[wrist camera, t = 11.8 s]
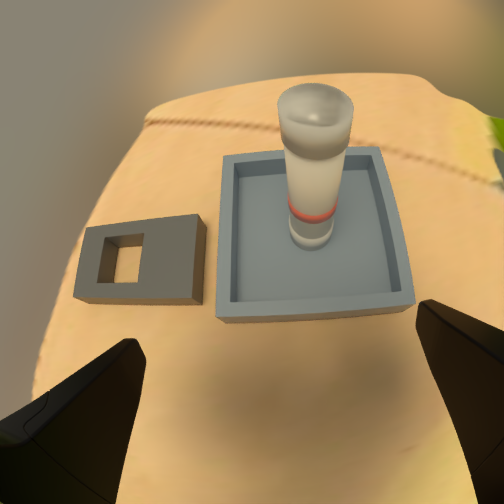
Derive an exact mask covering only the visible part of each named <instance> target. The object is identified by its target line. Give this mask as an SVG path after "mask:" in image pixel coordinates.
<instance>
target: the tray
mask: <svg viewBox="0 0 504 504" xmlns="http://www.w3.org/2000/svg"><path fill="white" fill-rule="evenodd" d="M289 215H290V211H289V206H288V185H287V174H286V162H285V152H284V150H276V151H264V152H254V153H244V154H235V155H227V156H223V168H222V183H221V199H220V217H219V236H218V258H217V285H216V317H217V318H218V319H220V320H221V321H223V322H225V323H263V322H287V321H306V320H322V319H335V318H347V317H359V316H369V315H379V314H388V313H396V312H403V311H404V310H406V309H408V308H409V307H411V306H413V305H414V304H416V300H415V293H414V286H413V280H412V274H411V268H410V263H409V257H408V252H407V247H406V242H405V238H404V233H403V229H402V224H401V220H400V216H399V212H398V208H397V204H396V201H395V197H394V193H393V190H392V186H391V183H390V180H389V176H388V173H387V170H386V167H385V163H384V160H383V157H382V154H381V151H380V148H379V147H347V148H346V152H345V158H344V164H343V170H342V176H341V182H340V187H339V193H338V202H337V207H336V211H335V213H334V225H333V230H332V234H331V238H330V241H329V242H328V244H327V245H326V246H325V247H323V248H322V249H319V250H316V251H306V250H303V249H301V248H299V247H297V246H296V245H295V244H294V243H293V241H292V239H291V237H290V229H289Z"/></svg>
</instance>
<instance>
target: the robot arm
mask: <svg viewBox="0 0 504 504" xmlns="http://www.w3.org/2000/svg"><path fill="white" fill-rule="evenodd" d="M416 330H417V333H418V336H419V339H420V341H421V344H422V347H423V350H424V353H425V356H426V359H427V362H428V365H429V367H430V370H431V372H432V374H433V377H434V379H435V381H436V383H437V386H438V388H439V390H440V393H441V395H442V397H443V400H444V402H445V404H446V407H447V409H448V412H449V414H450V417H451V419H452V422H453V425H454V427H455V430H456V433H457V435H458V438H459V441H460V444H461V447H462V450H463V453H464V456H465V459H466V462H467V465H468V468H469V471H470V474H471V479H472V482H473V486H474V490H475V493H476V497H477V501H478V504H504V331H502V330H500V329H498V328H496V327H493V326H491V325H489V324H487V323H485V322H482V321H480V320H478V319H476V318H473V317H471V316H469V315H467V314H464V313H462V312H460V311H458V310H455V309H453V308H451V307H448V306H446V305H444V304H441V303H439V302H437V301H435V300H432V299H429V300H425V301H421V302H420V303H419V305H418V311H417V318H416ZM145 368H146V357H145V355H144V353H143V351H142V349H141V347H140V345H139V342H138V341H137V340H136V339H135V338H126V339H123V340H122V341H120V342H119V343H117V344H116V345H114V346H113V347H111V348H110V349H109V350H107V351H106V352H104V353H103V354H101V355H100V356H98V357H97V358H95V359H94V360H93V361H91V362H90V363H88V364H87V365H85V366H84V367H82V368H81V369H79V370H78V371H77V372H75V373H74V374H72V375H71V376H69V377H68V378H66V379H65V380H64V381H62V382H61V383H59V384H58V385H56V386H55V387H53V388H52V389H50V391H47V392H46V393H45V394H43V395H42V396H40V397H39V398H37V399H36V400H34V401H33V402H31V403H30V404H28V405H26V406H25V407H23V408H21V409H20V410H18V411H16V412H15V413H13V414H11V415H9V416H8V417H6V418H4V419H2V420H1V421H0V504H116V498H117V493H118V489H119V484H120V479H121V475H122V470H123V466H124V461H125V457H126V453H127V449H128V444H129V440H130V436H131V432H132V429H133V425H134V421H135V417H136V413H137V410H138V406H139V402H140V397H141V391H142V385H143V379H144V373H145Z"/></svg>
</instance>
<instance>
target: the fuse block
mask: <svg viewBox="0 0 504 504" xmlns="http://www.w3.org/2000/svg"><path fill="white" fill-rule="evenodd" d="M206 228H207V227H206V226H205V224H204V223H203V221H202V220H201V218H200V216H199V215H198V214H191V215H182V216H173V217H164V218H155V219H147V220H139V221H131V222H123V223H116V224H109V225H101V226H94V227H88V228H86V231H85V235H84V239H83V244H82V248H81V253H80V258H79V263H78V269H77V274H76V280H75V286H74V293H73V297H74V298H76V299H79V300H81V301H84V302H86V303H89V304H113V305H202V299H203V278H204V259H205V243H206ZM133 246H142V253H141V260H140V267H139V275H138V283H113V280H114V273H115V266H116V260H117V254H118V248H122V247H133Z"/></svg>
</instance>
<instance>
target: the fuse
mask: <svg viewBox="0 0 504 504" xmlns="http://www.w3.org/2000/svg"><path fill="white" fill-rule="evenodd" d="M277 106H278V115H279V123H280V132H281V139H282V142H283V144H284V152H285V162H286V174H287V185H288V206H289V211H290V215H289V229H290V237H291V239H292V241H293V243H294V244H295V245H296V246H297V247H299V248H301V249H303V250H306V251H316V250H319V249H322V248H323V247H325V246H326V245H327V244H328V242H329V241H330V238H331V234H332V230H333V225H334V213H335V211H336V207H337V202H338V193H339V187H340V182H341V176H342V170H343V164H344V158H345V152H346V148H347V146H348V144H349V139H350V132H351V126H352V119H353V111H354V106H353V103H352V101H351V99H350V98H349V97H348V96H347V95H346V94H345V93H344V92H342V91H341V90H339V89H337V88H335V87H333V86H329V85H326V84H320V83H305V84H300V85H296V86H293V87H291V88H289V89H287V90H286V91H284V92H283V93H282V94H281V96H280V97H279V99H278V103H277Z"/></svg>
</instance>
